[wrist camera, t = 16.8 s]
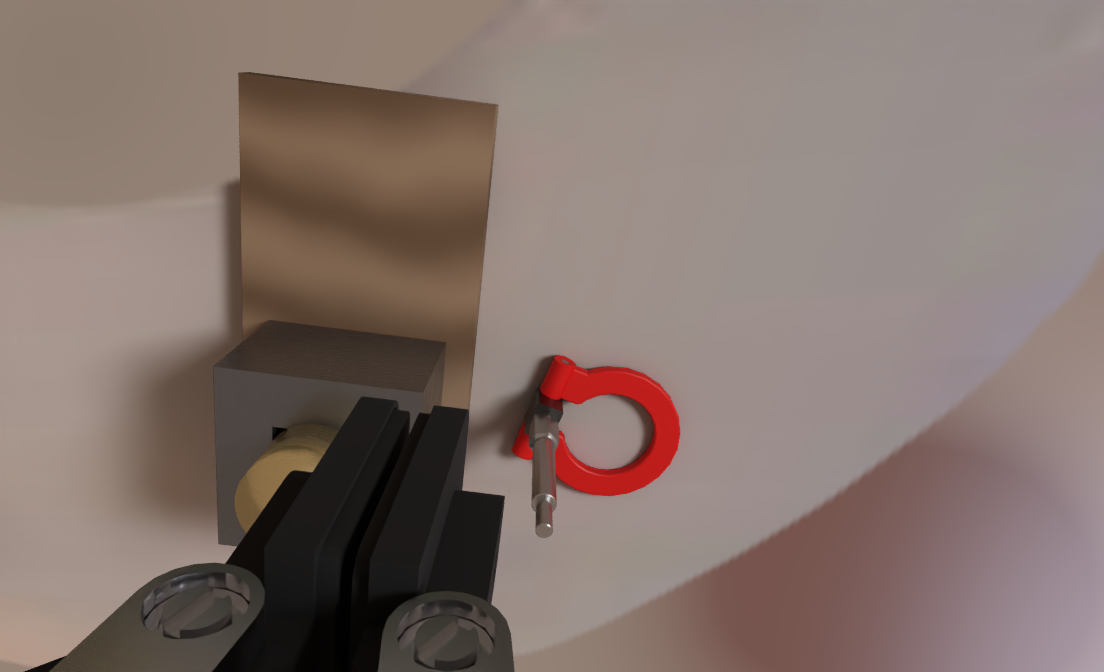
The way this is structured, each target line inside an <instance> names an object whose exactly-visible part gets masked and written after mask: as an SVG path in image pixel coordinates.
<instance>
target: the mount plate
mask: <svg viewBox="0 0 1104 672" xmlns="http://www.w3.org/2000/svg"><path fill="white" fill-rule="evenodd" d="M497 114H498V105H496V104H489V103H481V102H474V101H466V100H458V99H451V98H443V97H435V96H428V95H420V94H412V93H405V92H397V91H389V90H381V89H374V88H367V87H358V86H351V85H344V84H335V83H328V82H321V81H313V80H305V79H297V78H290V77H282V76H275V75H267V74H259V73H251V72H247V73H246V72H244V73H239V129H240V130H239V133H240V197H241V260H242V323H243V341H244V340H246V339H247V338H248V337H249V336H250V335H252V334H253V333H254V332H255V331H256V330H257V329H259V328H260V327H261V326H262V325H263V324H265V323H266V322H267V321H268V320H275V321H283V322H291V323H299V324H307V325H315V326H323V327H331V328H338V329H346V330H354V331H362V332H370V333H378V334H386V335H394V336H402V337H410V338H418V339H426V340H434V341H442V342H446V354H445V366H444V379H443V391H442V403H441V406H445V407H453V408H461V409H468V410H469V407H470V396H471V386H472V376H473V365H474V355H475V344H476V334H477V323H478V313H479V302H480V292H481V281H482V271H483V261H484V250H485V240H486V229H487V219H488V208H489V198H490V187H491V177H492V166H493V156H494V146H495V135H496V125H497Z"/></svg>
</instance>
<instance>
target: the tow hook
mask: <svg viewBox="0 0 1104 672" xmlns="http://www.w3.org/2000/svg"><path fill="white" fill-rule="evenodd" d="M606 394H616V395H623V396H626V397H629V398H632V399H634V400H635V401H637V402H638V403H640V404H641V405H643V407H644V408H645V409H646V410H647V411H648V412H649V414H650V416H651V418H652V420H653V426H654V432H653V438H652V441H651V443H650V445H649V447H648V449H647V450H646V452H645V453H644V454H643V455H642V456H641V457H640V458H639V459H637V460H636V461H635V462H633V463H632V464H630V465H627V466H625V467H622V468H618V469H611V470H604V469H596V468H593V467H590V466H587V465H585V464H584V463H582V462H580V461H579V460H577V459H576V458H575V457H574V455H573V454H572V453H571V452H570V451H569V449H568V447H567V445H566V443H565V438H564V434H563V433H562V432H561V431H559V428H558V423H559V421H560V419H561V417H562V415H563V402H562V399H564V400H567V401H569V402H572V403H574V404H582V403H583V402H585V401H586V400H588V399H591V398H593V397H596V396H599V395H606ZM679 438H680V426H679V417H678V414H677V411H676V409H675V407H674V405H673V402H672V400H671V398H670V396H669V395H668V394H667V393H666V391H665V390H664V389H663V388H662V387H661V386H660V384H659V383H657V382H656V381H654V380H653V379H651V378H650V377H648V376H647V375H645V374H643V373H640V372H637V371H634V370H631V369H629V368H622V367H610V366H607V367H601V368H594V369H589V370H586V369H583V368H581V367H578V366H576V364H575V363H574V362H573V361H572V360H570V359H569V358H566V357H564V356H560V355H556V356H555V357H554V359H553V361H552V363H551V366H550V368H549V370H548V372H547V374H546V376H545V378H544V380H543V383H542V385H541V387H540V388H538V389H537V392H536V394H535V396H534V398H533V400H532V402H531V404H530V407H529V409H528V411H527V413H526V415H525V421H524V423H523V425H522V428H521V430H520V432H519V434H518V436H517V438H516V440H515V443H514V445H513V447H512V451H513V453H514V454H515V455H516V456H518V457H520V458H522V459H526V460H530V459H532V458H533V464H532V508H533V510H534V511H535V512H536V534H537V535H538V536H539V537H541V538H547V537H549V536H550V535H551V534H552V532H553V520H552V512H553V511H554V510H555V508H556V504H557V502H556V476H557V477H558V478H559V479H560V480H561V481H563V482H564V483H566V484H568V485H569V486H571V487H572V488H574V489H576V490H579V491H582V492H585V493H589V494H592V495H603V496H614V495H620V494H627V493H630V492H633V491H635V490H638V489H640V488H643V487H645V486H646V485H648V484H649V483H651V482H652V481H654V480H655V479H657V478H658V477H659V476H660V475H661V474H662V473H663V472H664V470H665V469H666V468H667V467H668V466H669V465H670V463H671V461H672V459H673V457H674V455H675V453H676V451H677V449H678V443H679Z"/></svg>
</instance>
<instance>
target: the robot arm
mask: <svg viewBox="0 0 1104 672" xmlns="http://www.w3.org/2000/svg"><path fill="white" fill-rule="evenodd" d="M468 423H469V410H468V409H461V408H453V407H445V406H437V405H434V406H433V408H432V411H431V413H430V414H428V413H420V412H419V414H418V416H417V418H416V421H415V423H414V425H413V427H412V430H411V432H410V434H409V430H410V412H409V411H403V410H399V405H398V401H396V400H389V399H381V398H373V397H365V396H362V397H361V398H360V399H359V401H358V402H357V404H356V405H355V407H354V408H353V410H352V411H351V413H350V415H349V416H348V418H347V419H346V421H345V422H344V424H343V425H342V427H341V429H340V430H339V432H338V433H337V435H336V436H335V438H334V439H333V441H332V443H331V444H330V446H329V447H328V449H327V450H326V452H325V453H324V455H323V457H322V458H321V460H320V461H319V463H318V464H317V466H316V467H315V469H314V471H313V472H306V471H298V470H294V471H291V472H290V473H289V474H288V475H287V476H286V478H285V479H284V480H283V482H282V483H281V485H280V486H279V488H278V489H277V491H276V492H275V493H274V495H273V496H272V498H271V499H270V501H269V502H268V503H267V505H266V506H265V508H264V509H263V511H262V512H261V513H260V515H259V516H258V518H257V519H256V521H255V522H254V523H253V525H252V526H251V528H250V529H249V531H248V532H247V533H246V535H245V536H244V538H243V539H242V541H241V542H240V543H239V545H238V546H237V548H236V549H235V551H234V552H233V553H232V555H231V556H230V558H229V559H228V561H227V562H226V563H225V564H222V563H204V564H193V565H189V566H185V567H181V568H177V569H174V570H171V571H169V572H167V573H165V574H162V575H160V576H158V577H156V578H154V579H153V580H151V581H150V582H148V583H147V584H146V585H144V586H143V587H141V588H140V589H139V590H138V591H136V592H135V593H134V594H133V595H132V596H131V597H130V598H129V599H128V600H127V601H126V602H125V603H123V604H122V605H121V606H120V607H119V608H118V609H117V610H116V611H115V612H114V613H113V614H111V615H110V616H109V617H108V618H107V619H106V620H105V621H104V622H103V623H102V624H101V625H99V626H98V627H97V628H96V629H95V630H94V631H93V632H92V633H91V634H90V635H89V636H87V637H86V638H85V639H84V640H83V641H82V642H81V643H80V644H79V645H78V646H77V647H75V648H74V649H73V650H72V651H71V652H70V653H69V654H68V655H67V656H64V657H62V658H59V659H56V660H54V661H51V662H48V663H46V664H43V665H40V666H38V667H35V668H33V669H30V670H27V671H25V672H514V662H513V651H512V641H511V633H510V630H509V627H508V623H507V620H506V619H505V618H504V617H503V615H502V614H501V613H500V612H499V610H498V609H497V608H496V607H494V606H493V605H491V602H492V595H493V588H494V581H495V574H496V567H497V559H498V551H499V543H500V535H501V526H502V518H503V509H504V500H505V496H501V495H493V494H485V493H477V492H469V491H462V486H463V475H464V465H465V454H466V444H467V433H468Z"/></svg>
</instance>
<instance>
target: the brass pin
mask: <svg viewBox="0 0 1104 672" xmlns="http://www.w3.org/2000/svg"><path fill="white" fill-rule="evenodd" d="M338 432H339V431H338V430H336V429H333V428H331V427H328V426H324V425H319V424H302V425H296V426H293V427H290V428H288V429H286V430H284V431H283V432H281V433H280V434H278V435H277V436H276V437H275V438H274V439H273V441H272V442H271V443H270V444H269V446H268V447H267V448H266V449H265V451H264V452H263V453H262V454H261V456H260V457H259V458H258V459H257V461H256V462H255V463H254V464H253V466H252V467H251V468H250V469H249V471H248V472H247V473H246V474H245V476H244V477H243V478H242V479H241V481H240V483H239V484H238V487H237V490H236V494H235V511H236V515H237V518H238V520H239V523H240V524H241V526H242V528H243V529H244V531H245V532H246V533H247V532H248V531H249V529H250V528H251V526H252V525H253V523H254V522H255V521H256V519H257V518H258V516H259V515H260V513H261V512H262V511H263V509H264V508H265V506H266V505H267V503H268V502H269V501H270V499H271V498H272V496H273V495H274V493H275V492H276V491H277V489H278V488H279V486H280V485H281V483H282V482H283V480H284V479H285V478H286V476H287V475H288V474H289V473H290V472H291V471H294V470H298V471H306V472H313V471H314V469H315V467H316V466H317V464H318V463H319V461H320V460H321V458H322V457H323V455H324V453H325V452H326V450H327V449H328V447H329V446H330V444H331V443H332V441H333V439H334V438H335V436H336V435H337V433H338Z"/></svg>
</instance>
